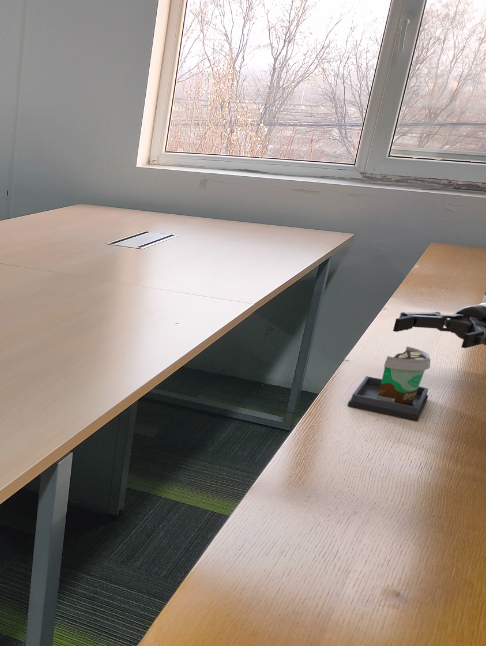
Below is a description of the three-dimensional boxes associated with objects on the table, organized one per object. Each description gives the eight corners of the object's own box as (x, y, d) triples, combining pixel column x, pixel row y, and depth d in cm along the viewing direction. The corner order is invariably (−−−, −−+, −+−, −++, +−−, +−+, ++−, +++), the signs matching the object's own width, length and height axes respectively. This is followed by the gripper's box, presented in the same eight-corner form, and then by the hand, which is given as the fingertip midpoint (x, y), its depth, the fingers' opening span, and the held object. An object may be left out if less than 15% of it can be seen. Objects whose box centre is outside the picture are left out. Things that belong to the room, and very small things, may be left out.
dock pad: (427, 399, 167) (430, 388, 166) (417, 421, 154) (420, 409, 154) (361, 386, 174) (364, 375, 173) (347, 406, 161) (350, 394, 160)
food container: (407, 413, 156) (421, 364, 152) (373, 404, 160) (386, 356, 156) (427, 400, 163) (441, 353, 160) (395, 391, 168) (407, 345, 164)
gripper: (537, 353, 167) (490, 367, 156) (415, 325, 186) (365, 335, 175) (549, 318, 164) (502, 329, 153) (423, 293, 183) (374, 302, 172)
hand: (429, 333), depth 164 cm, fingers open, 13 cm apart
